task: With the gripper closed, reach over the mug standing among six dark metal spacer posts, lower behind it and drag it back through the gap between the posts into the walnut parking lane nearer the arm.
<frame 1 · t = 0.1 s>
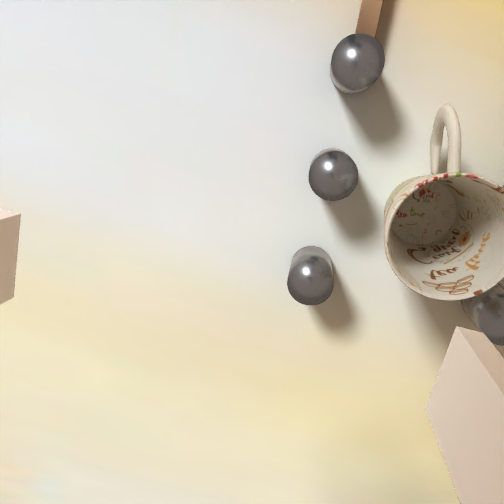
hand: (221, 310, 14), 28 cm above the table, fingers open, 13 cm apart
spacer field: (422, 186, 39), on the table
mug: (421, 186, 39), on the table
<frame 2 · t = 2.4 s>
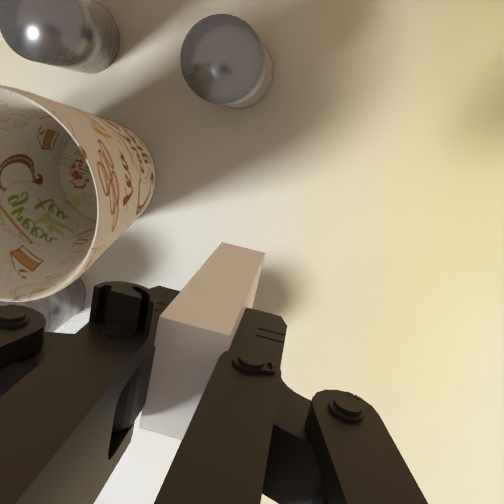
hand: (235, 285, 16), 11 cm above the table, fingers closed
spacer field: (71, 174, 28), on the table
mug: (73, 173, 28), on the table
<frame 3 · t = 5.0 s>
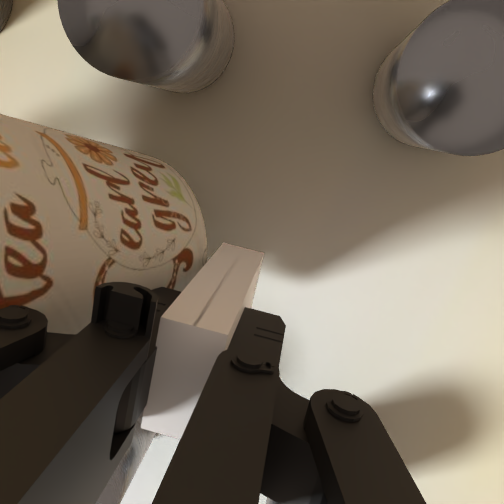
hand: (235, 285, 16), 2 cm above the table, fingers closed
spacer field: (148, 243, 18), on the table
mug: (112, 240, 18), point 1 cm above the table, touching gripper, hand
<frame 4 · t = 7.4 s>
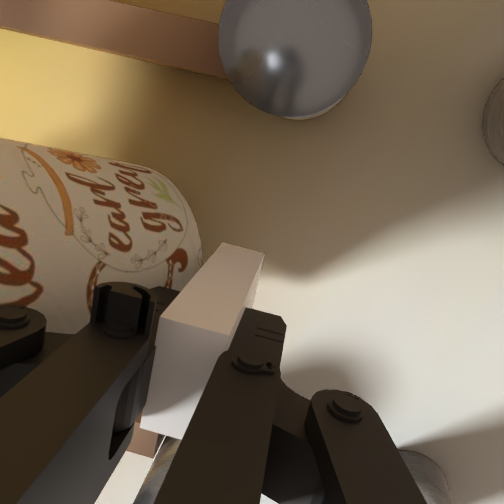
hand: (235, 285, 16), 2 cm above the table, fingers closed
spacer field: (463, 324, 18), on the table
mug: (111, 253, 18), point 1 cm above the table, touching gripper
parking lane: (18, 211, 19), on the table
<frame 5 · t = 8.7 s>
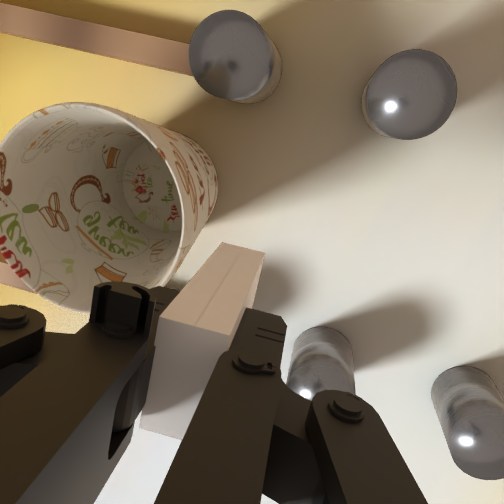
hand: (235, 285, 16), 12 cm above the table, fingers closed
spacer field: (356, 237, 27), on the table
mug: (136, 189, 29), on the table
parking lane: (69, 165, 29), on the table
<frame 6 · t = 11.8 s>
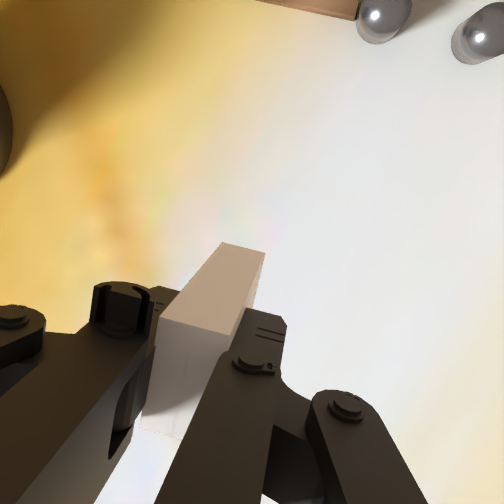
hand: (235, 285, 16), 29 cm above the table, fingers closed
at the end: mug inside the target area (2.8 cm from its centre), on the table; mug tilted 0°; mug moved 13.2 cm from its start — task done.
